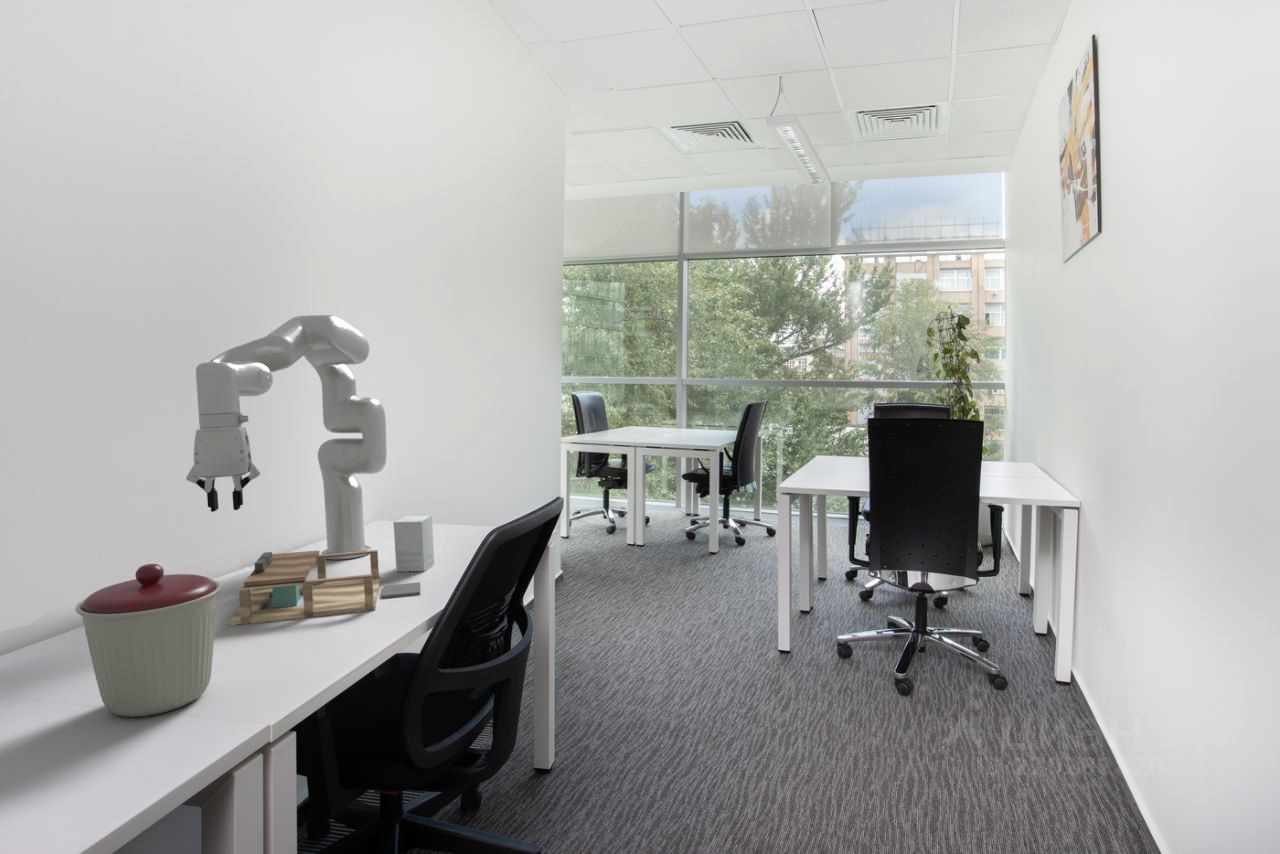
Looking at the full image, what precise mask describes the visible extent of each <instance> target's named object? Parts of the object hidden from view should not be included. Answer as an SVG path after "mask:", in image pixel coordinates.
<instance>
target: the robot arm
mask: <svg viewBox="0 0 1280 854" xmlns="http://www.w3.org/2000/svg"><path fill="white" fill-rule="evenodd" d="M369 353H370V345H369V342H368V339H367V337H366V336H365V335H364V333H362V332H361V331H360V330H358V329H357V328H356V327H354V326H352V325H351V324H350V323H348V322H347V321H345V320H343V319H341V318H339V317H337V316H334V315H331V314H319V315H316V314H314V315H299V316H294V317H292V318H289V319H288V320H287V321H285V322H284V323H282V324H281V325H279V327H276V328H275V329H274V330H272V331H271V332H270V333H269V334H267V335H265V336H264V337H263V336H262V337H260V338H258V339H254V340H251V341H249V342H246V343H244V344H243V343H242V344H241V345H237V346H235V347H232V348H229V349H227V350H225V351H223V352H221V353H220V354H218V355H216V356H215V357H214V358H212V359H210V360H209V361H208V362H201V363H199V364H197V366H196V368H195V379H196V380H195V381H196V394H197V409H198V422H199V423H198V424H199V429H196V430H195V434H194V435H195V436H194V444H193V466H192V467H191V468H190V470H189V472H188V474H187V476H186V477H185V479H186V480H187V481H188V482H191V483H193V484H196V485H197V486H198V487H199V488H201V489H202V490H204V492H205V493H206V496H207V497H206V499H207V507H208V508H210V512H212V513H214V512H216V511H218V510H219V496H218V490H216V488H215V484H216V478H223V477H224V478H225V477H227V478H228V477H229V478H230V477H231V479H232V481H233V484H234V486H233V491H232V493H231V494H232V507H233V510H234V511H238V510H239V509H241V506H243V504H244V497H243V494H244V493H243V489H244V488H245V487H246V486H247V485H248V484H249V483H250V482H251V481H253V480H254V479H256V478H258V477H259V476H260V475H261V472H260V471H259V469H258V468H257V467H256V466H255V464H254V463H253V462H252V461H253V457H252V452H251V447H250V446H251V445H250V440H249V435H248V431H247V428H246V427H245V426H244V427H242V425H243V424H244V423H248V422H249V416H248V415H243V414H242V412H241V405H240V397H257V396H261V395H264V394H265V393H267V392H268V391H269V390H270V389H271V387H272V385H273V382H274V380H273V379H274V378H273V373H274V372H279V371H283V370H286V369H288V368H290V367H292V366H293V365H294V364H295V363H297V361H299V360H300V359H301V358H302V357H304V359H305V360H306V361H307V362H308V363H309V364H310V365H311V366H312V368H314V370H315V371H316V373H317V375H318V377H319V379H320V383H321V396H322V397H321V399H322V418H323V419H322V420H323V426H324V428H325V429H326V430H327V431H328V432H329V433H332V434H333V433H334V434H361V436H362V437H360V438H358V437H357V438H355V437H354V438H353V437H351V438H348V437H347V438H346V437H345V438H342V437H341V438H332V439H328V440H326V441H323V443H322V444H321V445H320V446H319V448H318V452H317V461H318V465H319V469H320V472H321V473H320V474H321V477H322V483H323V496H324V497H323V498H324V512H325V513H324V514H325V532H326V533H325V534H326V547H327V549H324V550H322V551H321V552H320V555H324V554H336V553H347V552H359V551H371V550H372V548H371V546H369V545H365V544H366V543H365V527H364V525H365V523H364V506H363V505H364V503H363V489H362V486H361V483H360V482H359V480H358V478H357V477H356V476H355V475H362V474H364V475H367V474H368V475H369V474H370V475H371V474H378V473H380V472H381V471H382V470H383V469H384V468H385V465H386V463H387V462H386V461H387V427H386V426H387V423H386V421H387V419H386V412H385V409H384V406H383V405H382V403H381V402H380V401H379V400H378V399H376V398H374V397H358V396H357V386H356V378H355V376H354V374H353V372H352V371H351V369H350V368H349V366H348V365H352V366H353V365H360V364H362V363H364V362H365V361H366V360H367V359H368V357H369V355H370V354H369ZM248 473H249V474H248ZM247 474H248V475H247ZM245 475H247V476H245ZM243 476H245V477H244V478H243ZM204 478H205V479H204ZM367 555H368V554H361V555H350V556H338V557H327V558H325V560H335V561H336V560H350V559H356V558H361V557H364V556H367Z"/></svg>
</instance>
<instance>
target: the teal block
mask: <svg viewBox="0 0 1280 854" xmlns="http://www.w3.org/2000/svg"><path fill="white" fill-rule="evenodd" d="M272 591H273V596H272V602H273V605H272V606H273V608H279V607H278V606H284V607H289V606H288V605H294V606H298V604H297V603H299V602H298V601H300V600H301V596H300V594H301V593H299V585H292V586H282V587H272Z"/></svg>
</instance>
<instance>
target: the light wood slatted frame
mask: <svg viewBox="0 0 1280 854" xmlns="http://www.w3.org/2000/svg"><path fill="white" fill-rule="evenodd" d="M361 554H367V555H369V557H370V558H369V559H370V573H369V574H359V575H358V574H357V575H349V576H336V577H327V564H326V562H327V561H326V559H325V558H327V557H338V556H350V555H361ZM316 564H317V566H316V567H317V578H316V579H315V578H313V579H306V580H305V581H296V582H285V583H274V584H264V585H253V586H244V585H243V586H240V587H239V588H238V593H239V607H238V608H237V610H236V611H235V613H233V615H232V616H231V617H230V619H229V620H228V624H229V625H231V626H237V625H238V624H241V625H248V623H250V624H257V623H258V622H259V623H265V622H267V621H269V622H275V621H277V622H278V621H285V620H286V619H287V620H295V619H305V618H313V617H322V616H331V615H332V616H333V614H334V615H340V614H341V615H342V613H343V614H350V612H352V613H360V612H359V611H362V612H368V611H370V610H371V611H376V609H377V608H376V607H377V601H378V597H377V596H378V595H379V590H380V584H381V575H380V571H379V552H378V549H373V550H372V549H371V551H359V552H347V553H336V554H324V555H321V554H319V555H318V557H317V559H316ZM292 585H299V593H300V594H303V595H302V596H303V605H299V606H298V605H297V606H287V607H277V608H271V609H263V608H264V606H265V604H266V603H267V601H268V600H269V598H270V597H271V596H270V595H273V591H272V587H282V586H292ZM269 596H270V597H269ZM267 599H268V600H267ZM265 602H266V603H265ZM263 605H264V606H263ZM261 608H262V609H261ZM357 611H358V612H357ZM238 626H239V625H238Z"/></svg>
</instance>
